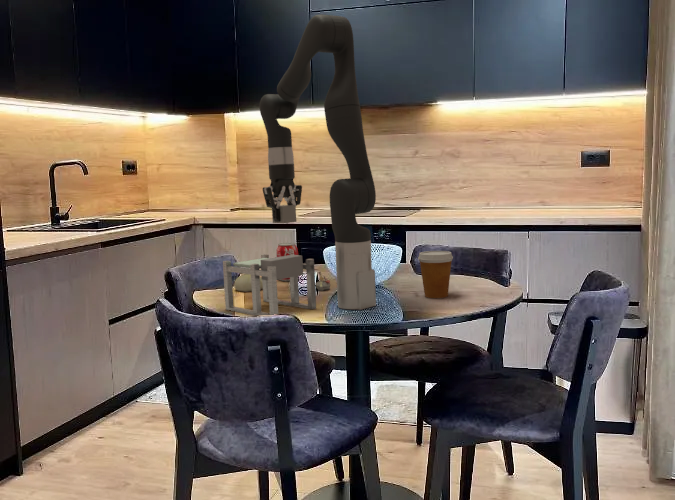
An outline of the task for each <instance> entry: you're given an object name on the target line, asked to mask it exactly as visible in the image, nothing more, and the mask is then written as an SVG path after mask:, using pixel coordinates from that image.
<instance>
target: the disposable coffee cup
mask: <svg viewBox="0 0 675 500" xmlns="http://www.w3.org/2000/svg"><path fill="white" fill-rule="evenodd" d="M453 258H454V256H453V254H452V252H451V251H449V250H428V251H421V252H419V254H418V257H417V259H418V262H419V266H420V271H421V279H422V280H421V281H422V285H423V292H424V297H425V298H427V299H443V298H448V296H449V288H450V277H451V272H452V271H451V269H452V262H453Z"/></svg>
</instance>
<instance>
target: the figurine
mask: <svg viewBox="0 0 675 500" xmlns="http://www.w3.org/2000/svg"><path fill="white" fill-rule="evenodd" d="M318 274H319V281H317V282H315V289H317V290H318V291H321V292H323V291H329V290H330V289H331V288H330V287H331V280H330V279H329V277H327V276H325V275H323V274H322V272H321V271H319V272H318Z"/></svg>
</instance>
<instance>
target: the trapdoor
mask: <svg viewBox="0 0 675 500" xmlns="http://www.w3.org/2000/svg"><path fill="white" fill-rule="evenodd" d="M232 264H233V267H241V268H249V269H251V267H250V264H259V266H261V268H260V270H265V271H267V266H276V278H277V281H281V280H280V279H285V278H290V277H295V276H299V277H300V276H303V275H304V269H303V255H299V254H298V255H287V256H281V257H277V256H276V257H269V258H261V257H260V258H256V259H251V260H243V261H237V262H233V263H232ZM261 278H262V280H268V277H266V276H261Z"/></svg>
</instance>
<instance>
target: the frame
mask: <svg viewBox="0 0 675 500" xmlns="http://www.w3.org/2000/svg"><path fill="white" fill-rule="evenodd" d="M269 256H270V255H269V254H264V253H263V254H260V259H261V258H270V257H269ZM250 267H251V268H245V267H237V266H232V261H231V260H222V270H223V286H224V287H223V289H224V303H225V304H224V305H225V306H224V307H225V311H229V310H231V311H230V312H234V311H235V313H241V314H247V315H250V316H255V315H274V314H278V315H279V305H285V306H288V307H289V306H290V307H295V308H300V309H301V308H302V309H307V310H317V296H316V295H317V294H316V292H317V291H316V274H315V273H316V271H315V259H314V258H306V259H305V262H304V263H303V270H306V271H305V273H306V290H307V291H306V293H307V294H306V295H307V303H304V302H303V303H302V302H300V295H299V294H300V292H299V278H298V276H295V277H290V281H289V288H290V300H285V299H279V298H278V297H279V296H278V286H277V285H278V282H277V281H278V280H277V278H276V266H267V271H265V270H261V266H259V264H250ZM232 273H238V274H242V275H244V274H251V284H252V291H251V297H252V298H251V299H252V309H249V308H243V307H238V306H234V293H233V292H234V291H233V276H232ZM262 276H266V277H268V280H262V283H263V288H262V295H263V296H261V290H260V277H262ZM262 298H263V300H262ZM262 301H263V302H265V303H266V302H267V303H268V304H269V312H264V311H262Z"/></svg>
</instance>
